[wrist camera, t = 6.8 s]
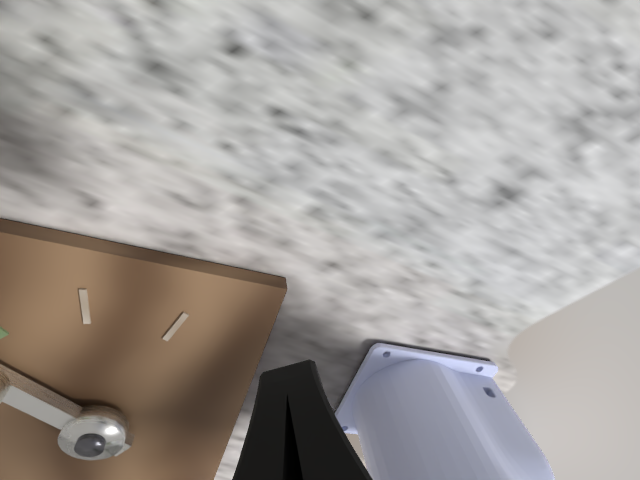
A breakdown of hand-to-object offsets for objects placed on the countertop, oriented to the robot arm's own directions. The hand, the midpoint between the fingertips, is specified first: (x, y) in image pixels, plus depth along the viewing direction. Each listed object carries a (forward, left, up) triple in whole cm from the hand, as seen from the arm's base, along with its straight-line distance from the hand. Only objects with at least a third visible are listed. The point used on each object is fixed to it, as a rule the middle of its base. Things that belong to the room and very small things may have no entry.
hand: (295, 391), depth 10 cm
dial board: (+7, +12, -10) cm, 17 cm away
